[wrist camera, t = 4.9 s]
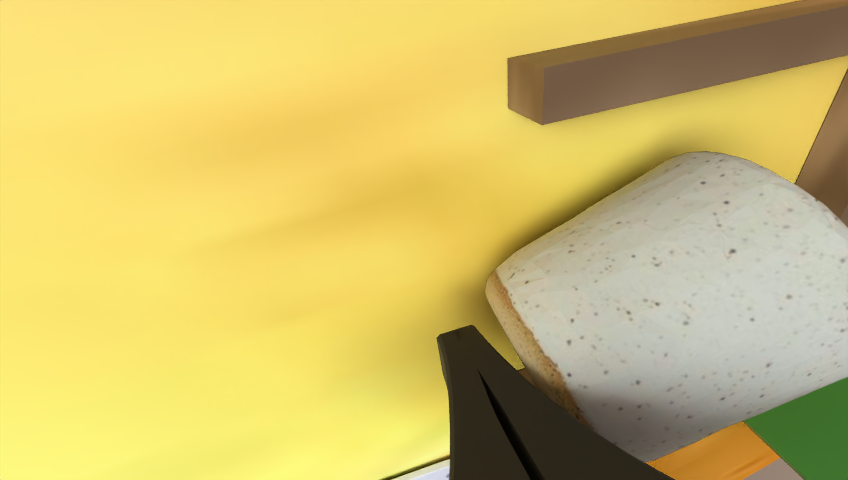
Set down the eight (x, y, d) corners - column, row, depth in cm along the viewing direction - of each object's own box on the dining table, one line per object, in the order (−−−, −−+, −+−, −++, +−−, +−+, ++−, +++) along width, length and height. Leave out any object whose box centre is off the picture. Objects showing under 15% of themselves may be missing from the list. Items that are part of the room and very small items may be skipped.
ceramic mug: (446, 245, 13) (573, 458, 7) (647, 117, 13) (973, 228, 7) (533, 377, 20) (643, 553, 13) (672, 295, 19) (852, 439, 13)
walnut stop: (755, 307, 22) (792, 331, 20) (510, 390, 19) (529, 425, 18) (919, -23, 13) (1008, -28, 11) (507, 57, 11) (544, 67, 9)
